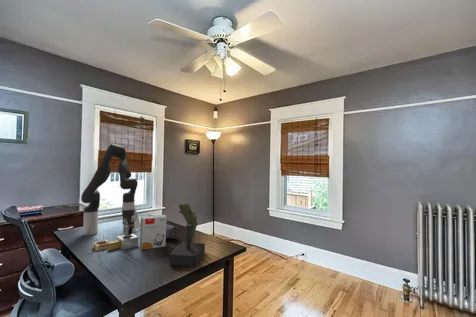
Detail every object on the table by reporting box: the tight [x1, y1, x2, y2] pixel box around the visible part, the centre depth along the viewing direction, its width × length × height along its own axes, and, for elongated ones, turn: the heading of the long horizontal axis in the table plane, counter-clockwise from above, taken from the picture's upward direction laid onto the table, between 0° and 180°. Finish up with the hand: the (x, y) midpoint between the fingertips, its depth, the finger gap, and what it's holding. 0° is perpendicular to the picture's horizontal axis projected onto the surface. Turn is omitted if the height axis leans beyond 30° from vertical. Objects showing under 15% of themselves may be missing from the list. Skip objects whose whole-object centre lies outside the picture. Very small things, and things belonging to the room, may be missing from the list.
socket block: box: [116, 233, 139, 251], centre depth 151 cm, size 10×10×6 cm
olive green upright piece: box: [178, 203, 198, 243], centre depth 150 cm, size 14×7×30 cm, turn 71°
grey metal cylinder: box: [124, 224, 131, 239], centre depth 151 cm, size 4×4×14 cm
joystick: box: [168, 223, 206, 268], centre depth 132 cm, size 19×17×20 cm
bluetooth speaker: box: [166, 224, 178, 240], centre depth 169 cm, size 23×9×10 cm, turn 68°
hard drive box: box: [139, 214, 167, 251], centre depth 151 cm, size 16×8×20 cm, turn 117°
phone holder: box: [122, 208, 141, 234], centre depth 187 cm, size 17×10×18 cm, turn 176°
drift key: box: [107, 240, 120, 251], centre depth 146 cm, size 2×9×4 cm, turn 135°
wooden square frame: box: [92, 239, 110, 252], centre depth 148 cm, size 8×8×3 cm
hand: (127, 233), depth 151 cm, fingers open, 8 cm apart
